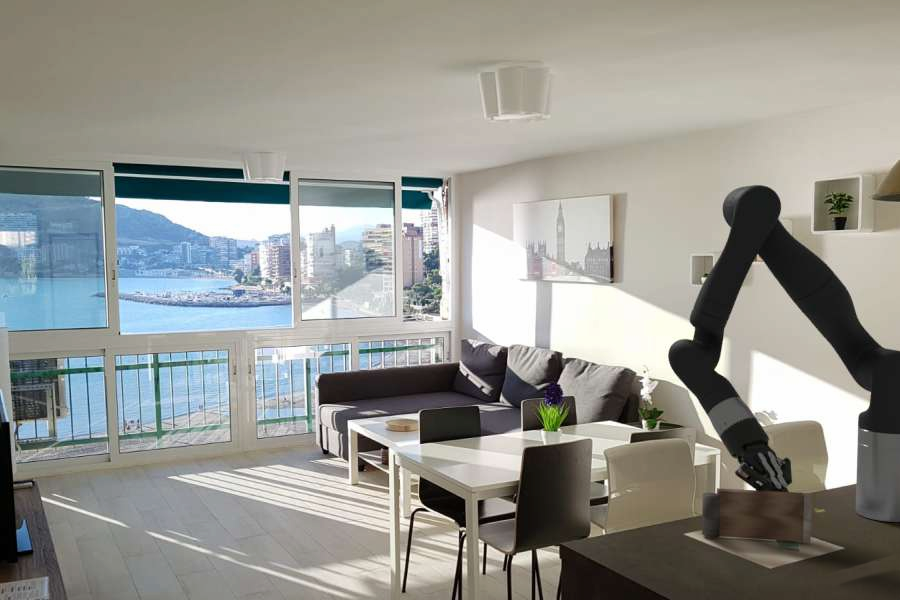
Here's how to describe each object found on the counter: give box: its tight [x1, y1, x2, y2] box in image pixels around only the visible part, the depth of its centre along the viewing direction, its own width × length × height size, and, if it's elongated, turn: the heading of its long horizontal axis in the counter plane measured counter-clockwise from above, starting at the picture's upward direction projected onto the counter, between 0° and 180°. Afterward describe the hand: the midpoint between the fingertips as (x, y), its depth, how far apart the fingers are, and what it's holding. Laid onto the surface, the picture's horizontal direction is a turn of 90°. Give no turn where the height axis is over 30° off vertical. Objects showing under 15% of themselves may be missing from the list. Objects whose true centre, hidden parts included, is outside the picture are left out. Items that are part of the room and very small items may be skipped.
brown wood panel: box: [701, 488, 813, 542], centre depth 133 cm, size 18×3×8 cm, turn 81°
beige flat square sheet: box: [683, 529, 845, 569], centre depth 133 cm, size 19×18×2 cm
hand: (791, 510), depth 134 cm, fingers closed
